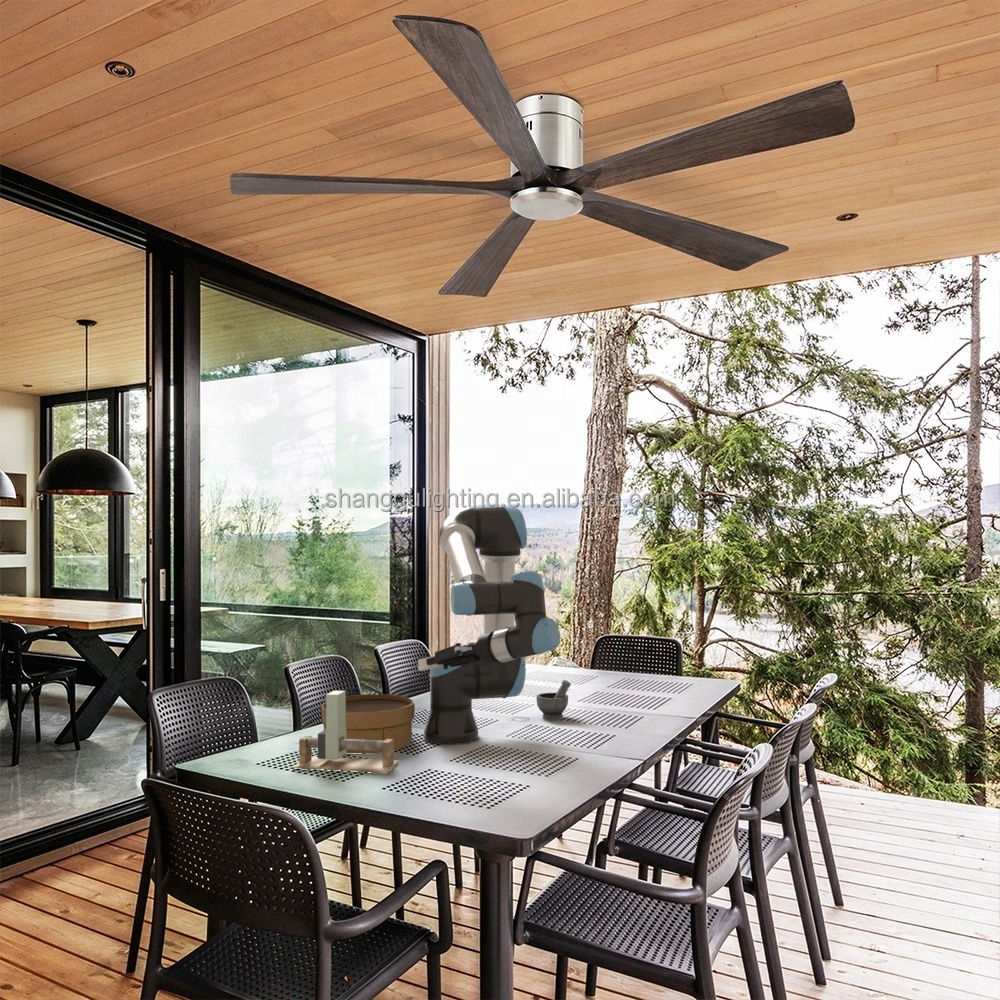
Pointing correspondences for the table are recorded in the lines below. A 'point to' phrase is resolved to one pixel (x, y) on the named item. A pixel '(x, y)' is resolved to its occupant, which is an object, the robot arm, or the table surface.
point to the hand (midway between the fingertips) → (420, 665)
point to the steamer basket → (378, 719)
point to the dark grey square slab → (321, 744)
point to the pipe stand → (349, 763)
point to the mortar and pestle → (554, 702)
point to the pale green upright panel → (335, 724)
